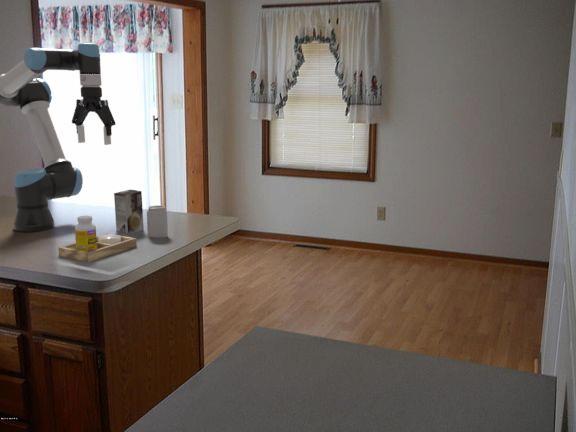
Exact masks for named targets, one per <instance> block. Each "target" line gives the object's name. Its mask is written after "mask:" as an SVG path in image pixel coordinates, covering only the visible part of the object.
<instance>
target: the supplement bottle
mask: <svg viewBox="0 0 576 432" xmlns="http://www.w3.org/2000/svg"><path fill="white" fill-rule="evenodd" d="M76 219H77V224H76V225H75V226H74V234H75V235H74V236H75V237H74V238H75V243H76V250H81V251H86V252H91V251H94V250H97V239H96V236H97V228H96V225H95V224H94V223H93V216H92V215H80V216H77V218H76Z"/></svg>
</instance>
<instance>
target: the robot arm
mask: <svg viewBox="0 0 576 432" xmlns="http://www.w3.org/2000/svg"><path fill="white" fill-rule="evenodd" d="M53 70H54V71H57V70H58V71H79V81H80V82H79V84H80V86H81V87H80V96H81V98H82V99H81V98H78V99H76V101H75V102H76V105H75V110H74V112H73V116H72V119H71V123H72V124H74V125H75V128H76V134H77V142H78V144H81V143H86V136H85V132H86V131H85V125H84V122H85V121H86V118H87V116H88V115H89V113H92V112H93V113H95V114H97V116H98V118H99V119H100V121H101V122H102V124H103V125H104V126H103V128H102V129H103V130H102V131H103V142H104V143H103V144H104V145H105V146H107V145H112V127H113V126H116V121H115V118H114V116H113V113H112V112H111V109H110V107H109V101H108V99H102V97H103V89H102V87H101V86H102V74H101V73H102V71H101V53H100V46H99V45H98V44H97V43H91V42H90V43H87V42H85V43H84V42H83V43H78V45H77V49H63V48H46V47H45V48H42V47H29V48H26V50H25V51H24V55H23V59H22V61H21V60H20V62H19V63H17V64H16V65H15V66H14V67H12V68H11V69H10V70H8V71H7V72H6V73H2V74H0V104H1V105H3V106H6V107H19V109H20V112H21V113H22V114H23V115H26V117H27V120H28V123H29V125H30V128H31V132H32V133H33V137H34V139H35V142H36V144H37V147H38V150H39V152H40V155H41V159H42V161H43V163H44V167H43V168H42V167H35V168H28V169H23V170H21V171H18V172H17V173H16V174H14V180H13V181H14V182H13V186H14V193H15V202H16V213H15V218H14V221H13V230H14V231H17V232H21V233H22V232H24V233H25V232H27V233H28V232H29V233H30V232H31V233H32V232H41V231H48V230H49V229H50V230H51V229H53V228H54V227H55V220H54V218H53V215H52V213H51V211H50V208H49V200H56V199H61V198H62V199H63V198H70V197H74V196H77V195H79V193H80V192H81V191H82V189H83V181H84V180H83V174H82V171H81V170H80V169H79V168H78V167H74V166H73V164H72V162H71V161H70V160H68V159H66V156H65V154H64V150H63V148H62V146H61V143H60V139H59V137H58V134H57V131H56V129H55V126H54V123H53V121H52V118H51V115H50V113H49V108H50V106H51V105H50V104H51V102H52V99H53V98H52V97H53V96H52V90H51V88H50V86H49V84H48V83H47V82H46V80H44V79H43V78H39V76H41V74H43V73H44V72H46V71H53Z"/></svg>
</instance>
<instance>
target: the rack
mask: <svg viewBox="0 0 576 432" xmlns="http://www.w3.org/2000/svg"><path fill="white" fill-rule="evenodd" d="M103 235H115V234H114V233H104V234H100V235H96V239H97V250H94V251H91V252H86V251H81V250H76V242H73V243H69V244H66V245H63V246H59V247H58V256H59V257H63V258H69V259H73V260H77V261H78V260H79V261H84V262H87V263H88V262H89V263H90V262H91V263H92V262H93V261H97V260H100V259H102V258H105V257H107V256H111V255H114V254H117V253H120V252H121V253H122V252H124V251H126V250H130V249H132V248H133V249H134V248H135V247H137V245H138V244H137V238H136V237H131V236H124V235H120V236H121V242H119V243H116V244H113V245H110V244H105V243H99V242H98V237H100V236H103Z"/></svg>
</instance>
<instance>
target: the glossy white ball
mask: <svg viewBox="0 0 576 432" xmlns="http://www.w3.org/2000/svg"><path fill="white" fill-rule="evenodd" d="M102 235H103V234H102ZM99 236H100V235H99ZM121 236H122V235H119V234H114V235H103V236H100V237H98V242H99V243H105V244H110V245H113V244H116V243H119V242H121Z"/></svg>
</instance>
